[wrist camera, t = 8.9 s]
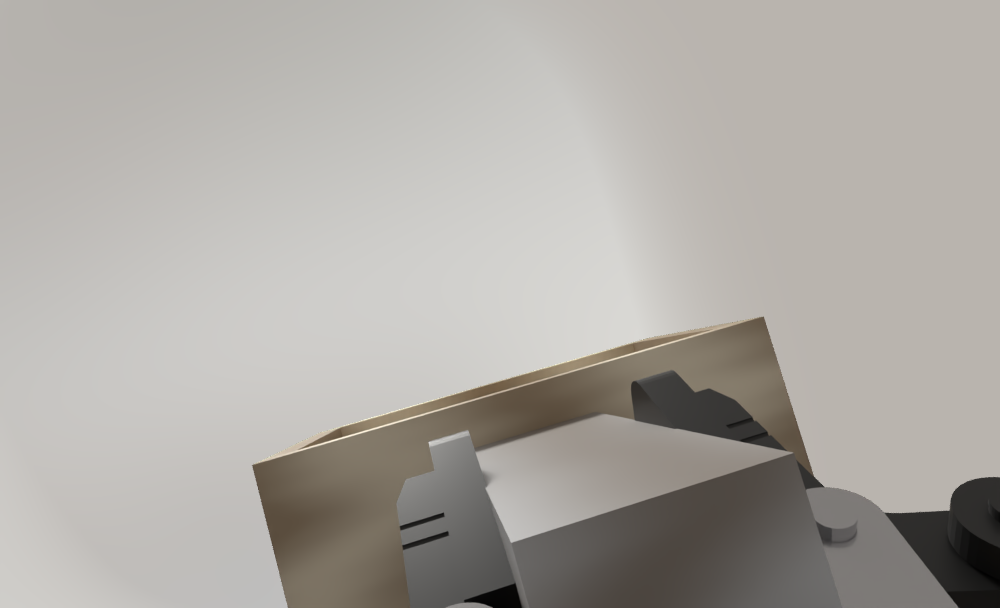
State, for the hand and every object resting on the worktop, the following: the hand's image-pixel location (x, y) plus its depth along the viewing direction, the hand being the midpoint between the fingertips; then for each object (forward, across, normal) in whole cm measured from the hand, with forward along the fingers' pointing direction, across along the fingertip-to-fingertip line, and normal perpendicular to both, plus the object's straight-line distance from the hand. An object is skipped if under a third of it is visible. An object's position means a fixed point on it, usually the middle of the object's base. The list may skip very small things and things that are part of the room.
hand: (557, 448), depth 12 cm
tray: (+1, 0, +5) cm, 5 cm away
